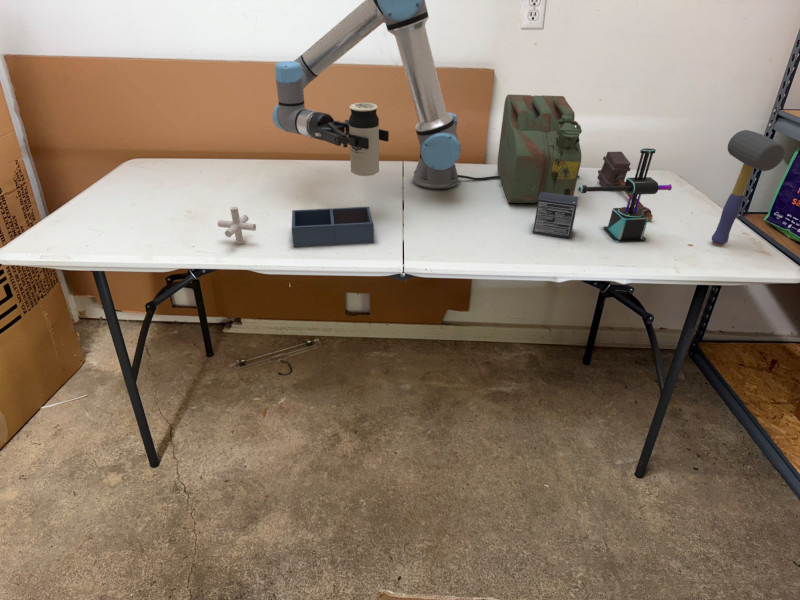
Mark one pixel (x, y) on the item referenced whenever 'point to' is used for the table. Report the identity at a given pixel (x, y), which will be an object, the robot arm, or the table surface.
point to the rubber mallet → (746, 173)
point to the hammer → (618, 175)
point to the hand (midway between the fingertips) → (377, 140)
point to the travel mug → (365, 126)
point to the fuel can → (538, 147)
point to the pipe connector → (236, 225)
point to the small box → (555, 214)
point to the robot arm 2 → (630, 220)
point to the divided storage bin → (332, 226)
